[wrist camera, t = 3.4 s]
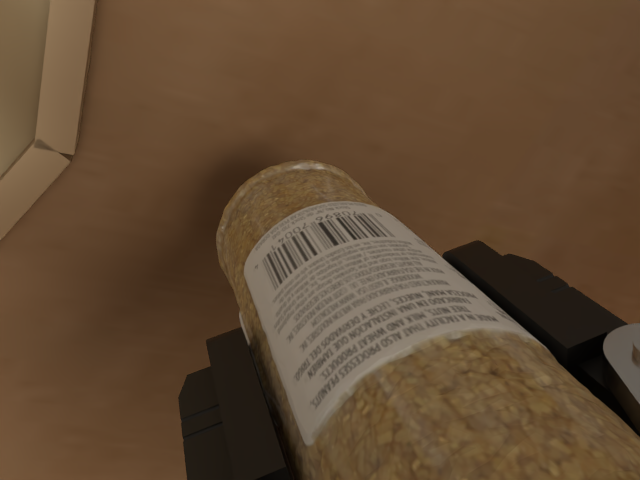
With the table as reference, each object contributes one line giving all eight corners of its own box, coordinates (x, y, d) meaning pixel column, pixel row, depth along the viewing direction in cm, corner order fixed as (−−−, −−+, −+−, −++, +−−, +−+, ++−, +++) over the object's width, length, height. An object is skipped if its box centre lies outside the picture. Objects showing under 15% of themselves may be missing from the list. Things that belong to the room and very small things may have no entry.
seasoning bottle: (222, 313, 16) (475, 1276, 4) (205, 162, 14) (610, 1173, 2) (369, 288, 17) (900, 968, 5) (373, 145, 15) (1242, 711, 3)
